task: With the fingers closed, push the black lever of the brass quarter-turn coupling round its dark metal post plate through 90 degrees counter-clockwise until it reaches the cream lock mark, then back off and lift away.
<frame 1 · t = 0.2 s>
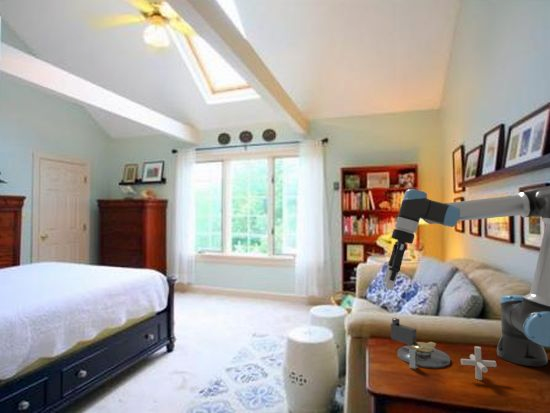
hand: (387, 285, 123), 27 cm above the table, tool tilted 15°, fingers open, 13 cm apart
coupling: (411, 334, 130), point 7 cm above the table, hinge at 0.0°
post plate: (423, 357, 125), on the table
pipe connector: (478, 379, 108), on the table
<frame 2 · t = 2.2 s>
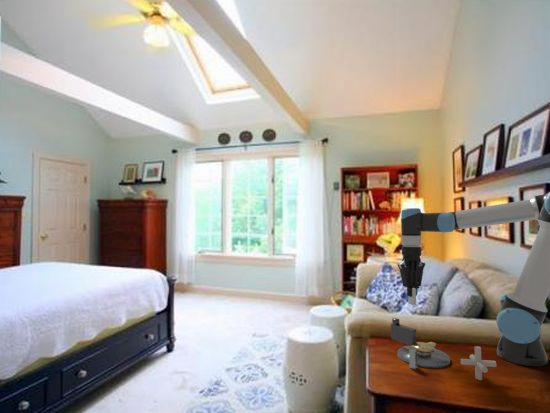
hand: (412, 304, 136), 17 cm above the table, tool pointing down, fingers closed
nothing on the table moved.
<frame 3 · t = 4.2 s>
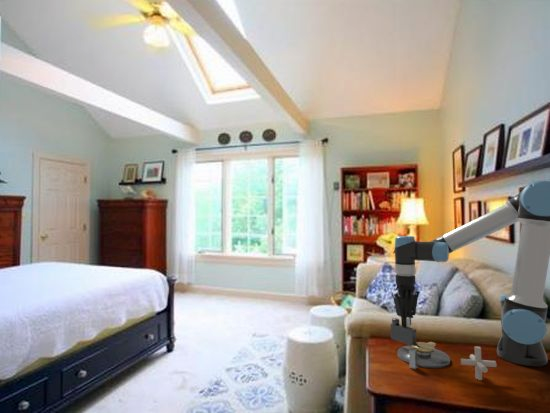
hand: (406, 333, 134), 6 cm above the table, tool pointing down, fingers closed
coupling: (411, 334, 130), point 7 cm above the table, hinge at 0.5°, touching gripper
everything else where it was.
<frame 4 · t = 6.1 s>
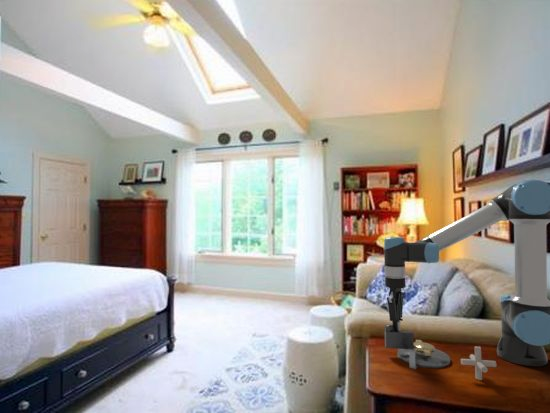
hand: (396, 337, 129), 6 cm above the table, tool pointing down, fingers closed
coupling: (409, 337, 126), point 7 cm above the table, hinge at 48.9°, touching gripper
everything else where it was.
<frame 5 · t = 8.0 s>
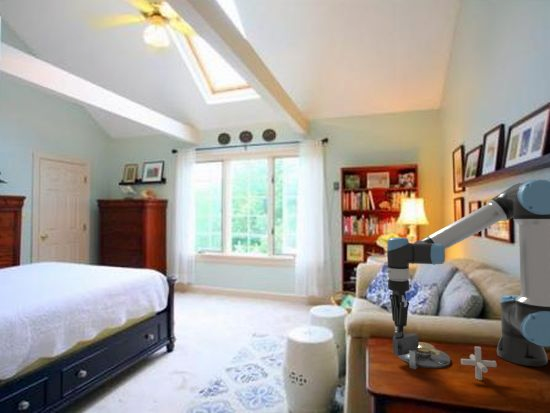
hand: (399, 343, 124), 6 cm above the table, tool pointing down, fingers closed
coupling: (413, 339, 124), point 7 cm above the table, hinge at 82.6°, touching gripper
everything else where it was.
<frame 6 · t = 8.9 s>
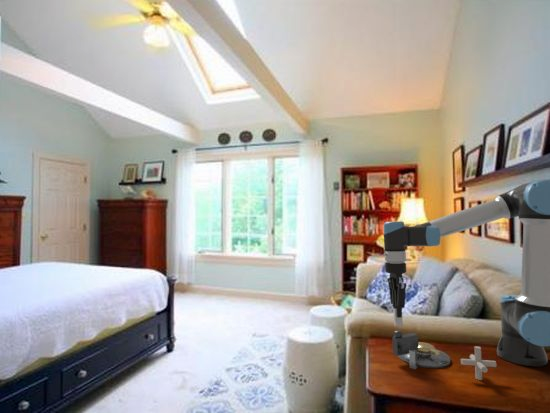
hand: (398, 325, 126), 12 cm above the table, tool pointing down, fingers closed
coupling: (413, 339, 124), point 7 cm above the table, hinge at 82.0°
everything else where it was.
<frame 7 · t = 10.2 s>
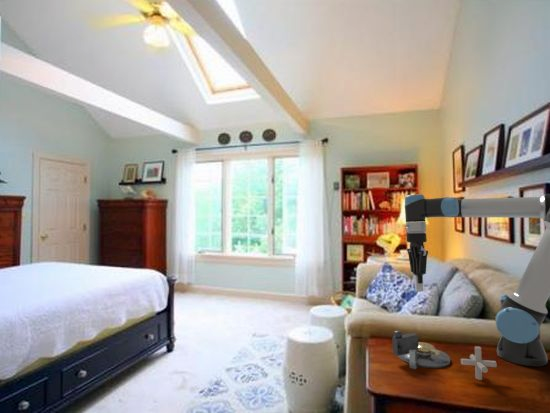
hand: (419, 291, 135), 23 cm above the table, tool pointing down, fingers closed
nothing on the table moved.
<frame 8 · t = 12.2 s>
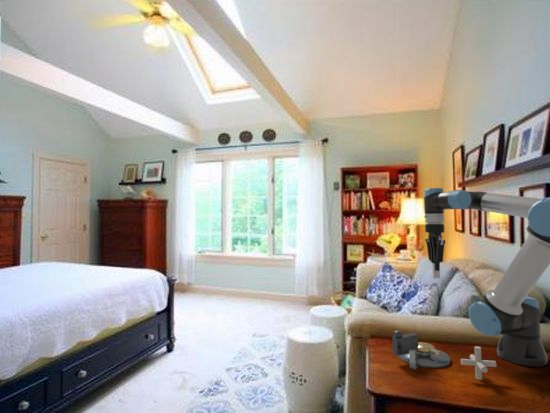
hand: (436, 278, 145), 26 cm above the table, tool pointing down, fingers closed
nothing on the table moved.
at the end: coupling at +82° (first picture: +0°); the gripper is holding nothing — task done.
